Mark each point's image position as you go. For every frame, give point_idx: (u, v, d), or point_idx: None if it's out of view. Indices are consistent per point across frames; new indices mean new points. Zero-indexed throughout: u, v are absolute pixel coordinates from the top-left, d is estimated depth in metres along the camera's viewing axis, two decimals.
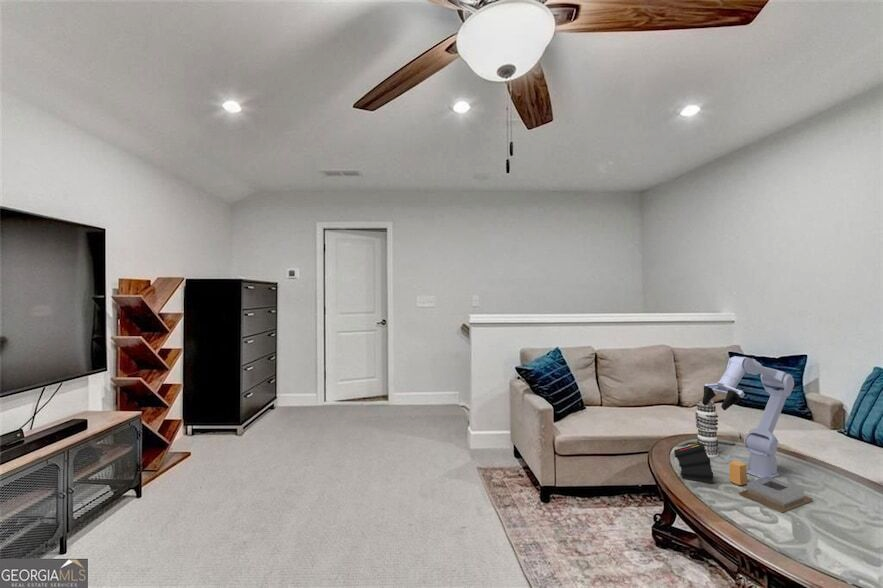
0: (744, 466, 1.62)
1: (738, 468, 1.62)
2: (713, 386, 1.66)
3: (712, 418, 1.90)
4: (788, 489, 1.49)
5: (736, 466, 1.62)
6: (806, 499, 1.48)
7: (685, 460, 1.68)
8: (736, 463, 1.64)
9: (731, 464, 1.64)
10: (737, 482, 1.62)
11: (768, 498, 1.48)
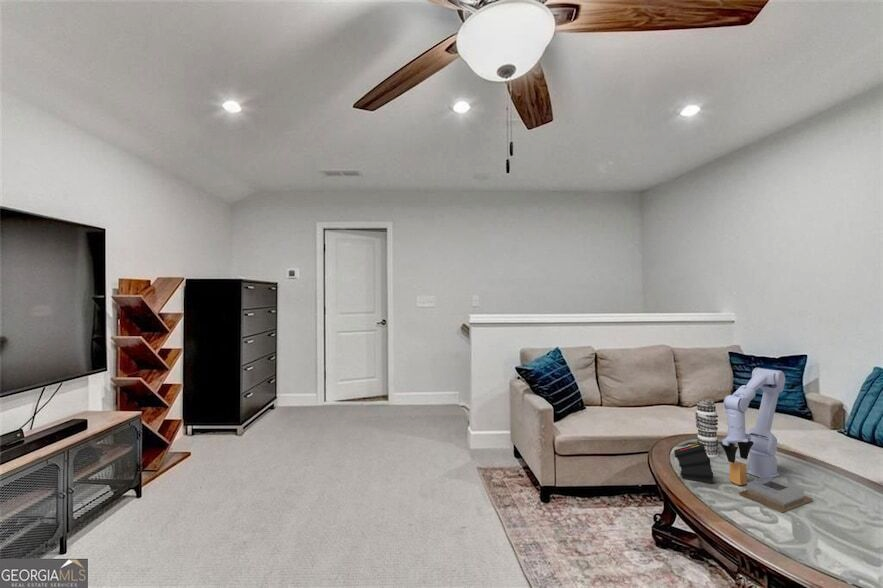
0: (744, 466, 1.62)
1: (738, 468, 1.62)
2: None
3: (712, 418, 1.90)
4: (788, 489, 1.49)
5: (736, 466, 1.62)
6: (806, 499, 1.48)
7: (685, 460, 1.68)
8: (736, 463, 1.64)
9: (731, 464, 1.64)
10: (737, 482, 1.62)
11: (768, 498, 1.48)
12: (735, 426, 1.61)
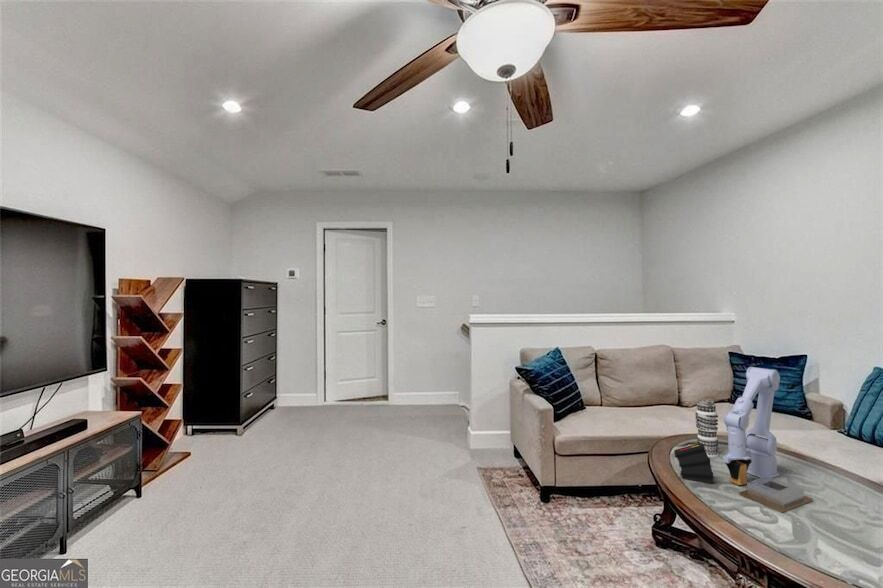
0: (744, 466, 1.62)
1: None
2: None
3: (712, 418, 1.90)
4: (788, 489, 1.49)
5: None
6: (806, 499, 1.48)
7: (685, 460, 1.68)
8: None
9: None
10: (737, 482, 1.62)
11: (768, 498, 1.48)
12: (736, 443, 1.62)
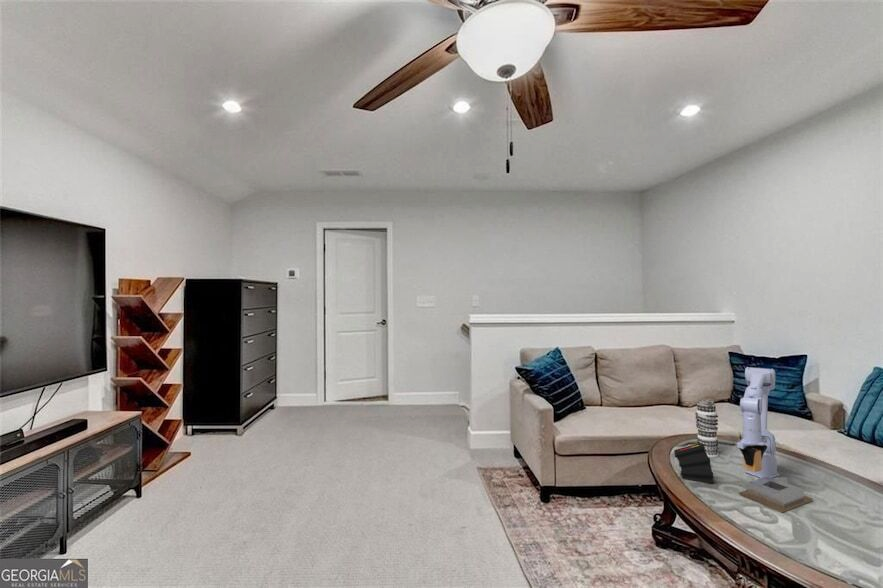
0: (759, 452, 1.57)
1: None
2: None
3: (712, 418, 1.90)
4: (788, 489, 1.49)
5: None
6: (806, 499, 1.48)
7: (685, 460, 1.68)
8: None
9: None
10: (751, 469, 1.57)
11: (768, 498, 1.48)
12: (754, 429, 1.56)
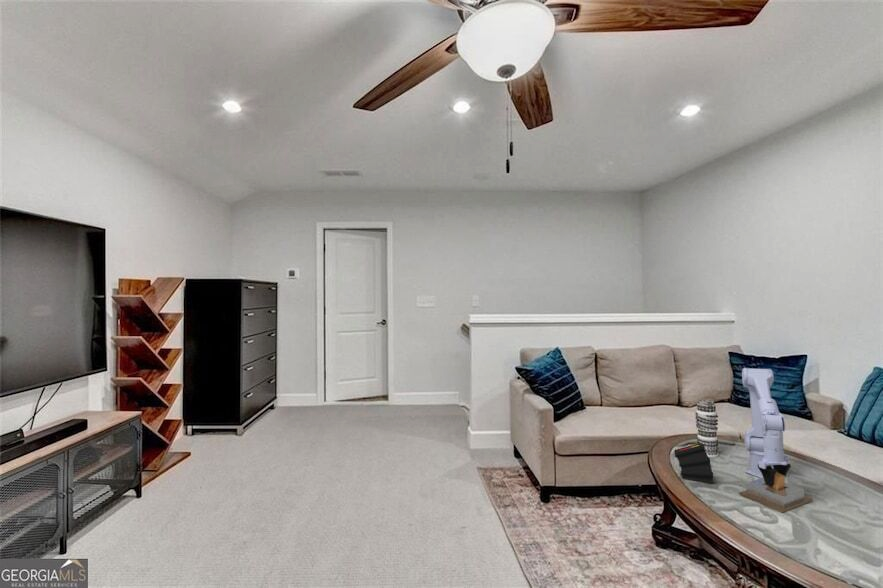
0: (783, 478, 1.49)
1: (776, 480, 1.49)
2: None
3: (712, 418, 1.90)
4: (788, 489, 1.49)
5: (774, 478, 1.49)
6: (806, 499, 1.48)
7: (685, 460, 1.68)
8: None
9: None
10: None
11: (768, 498, 1.48)
12: (779, 448, 1.49)
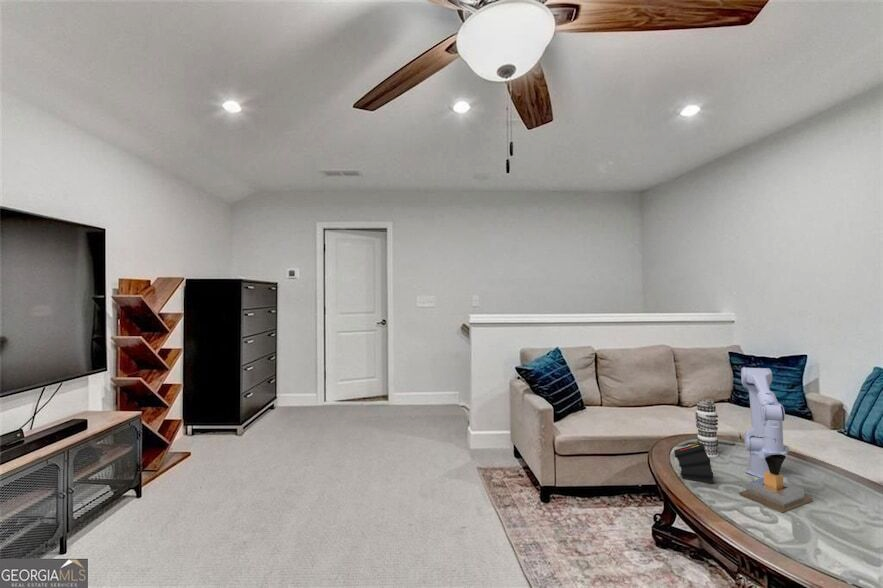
0: (780, 476, 1.50)
1: (774, 478, 1.50)
2: None
3: (712, 418, 1.90)
4: (788, 489, 1.49)
5: (772, 476, 1.50)
6: (806, 499, 1.48)
7: (685, 460, 1.68)
8: None
9: (766, 474, 1.52)
10: None
11: (768, 498, 1.48)
12: (778, 438, 1.49)
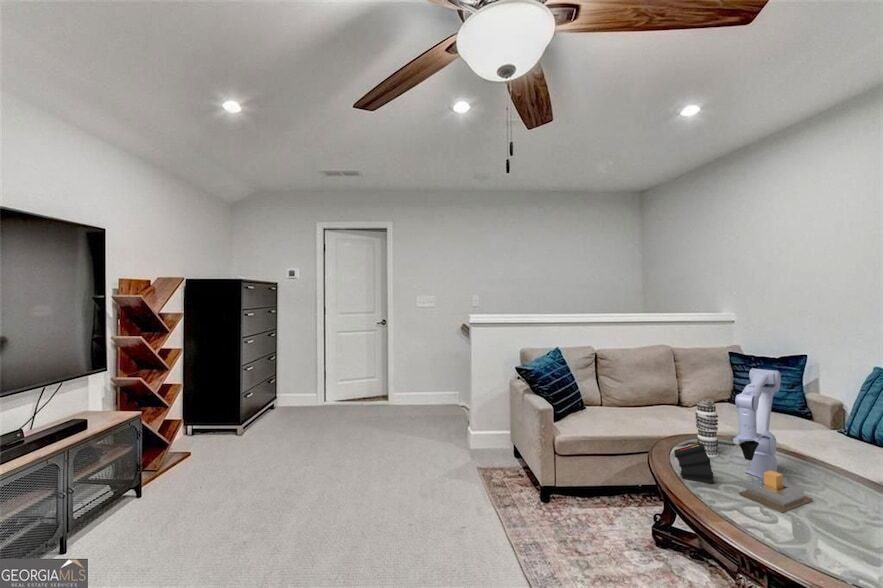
0: (780, 476, 1.50)
1: (774, 478, 1.50)
2: None
3: (712, 418, 1.90)
4: (788, 489, 1.49)
5: (772, 476, 1.50)
6: (806, 499, 1.48)
7: (685, 460, 1.68)
8: (771, 473, 1.52)
9: (766, 474, 1.52)
10: None
11: (768, 498, 1.48)
12: (748, 425, 1.59)
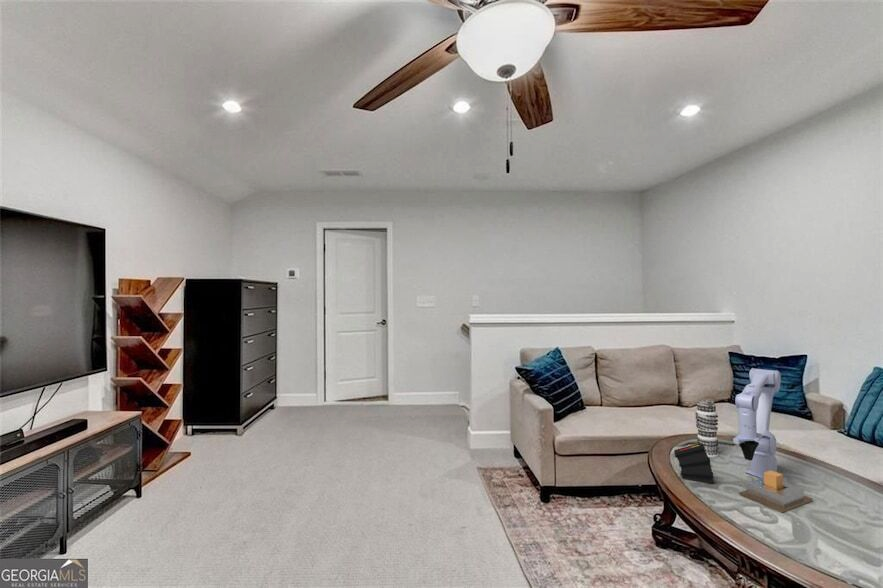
0: (780, 476, 1.50)
1: (774, 478, 1.50)
2: None
3: (712, 418, 1.90)
4: (788, 489, 1.49)
5: (772, 476, 1.50)
6: (806, 499, 1.48)
7: (685, 460, 1.68)
8: (771, 473, 1.52)
9: (766, 474, 1.52)
10: None
11: (768, 498, 1.48)
12: (748, 425, 1.59)
